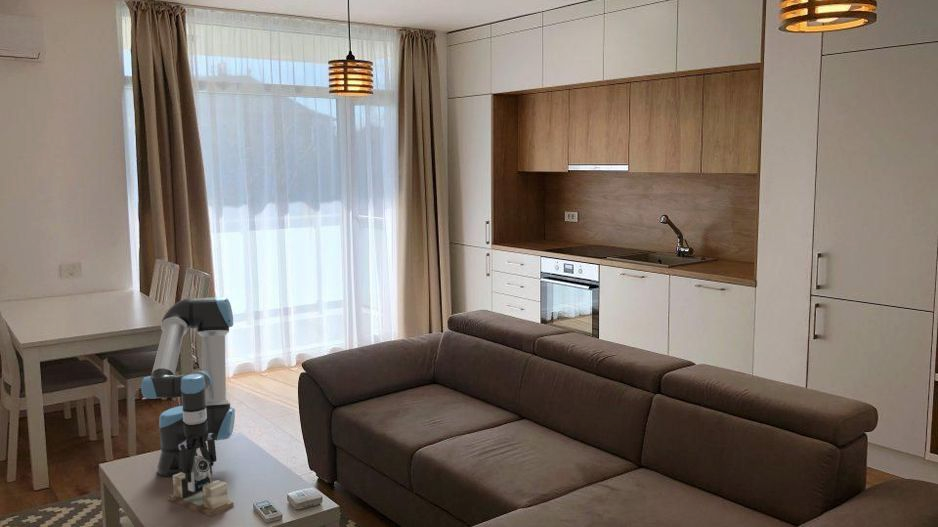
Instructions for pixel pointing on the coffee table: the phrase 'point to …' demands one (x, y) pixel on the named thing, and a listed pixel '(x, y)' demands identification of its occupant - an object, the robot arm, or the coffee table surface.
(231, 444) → the coffee table surface
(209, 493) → the rail
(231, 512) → the coffee table surface
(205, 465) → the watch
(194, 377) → the robot arm
